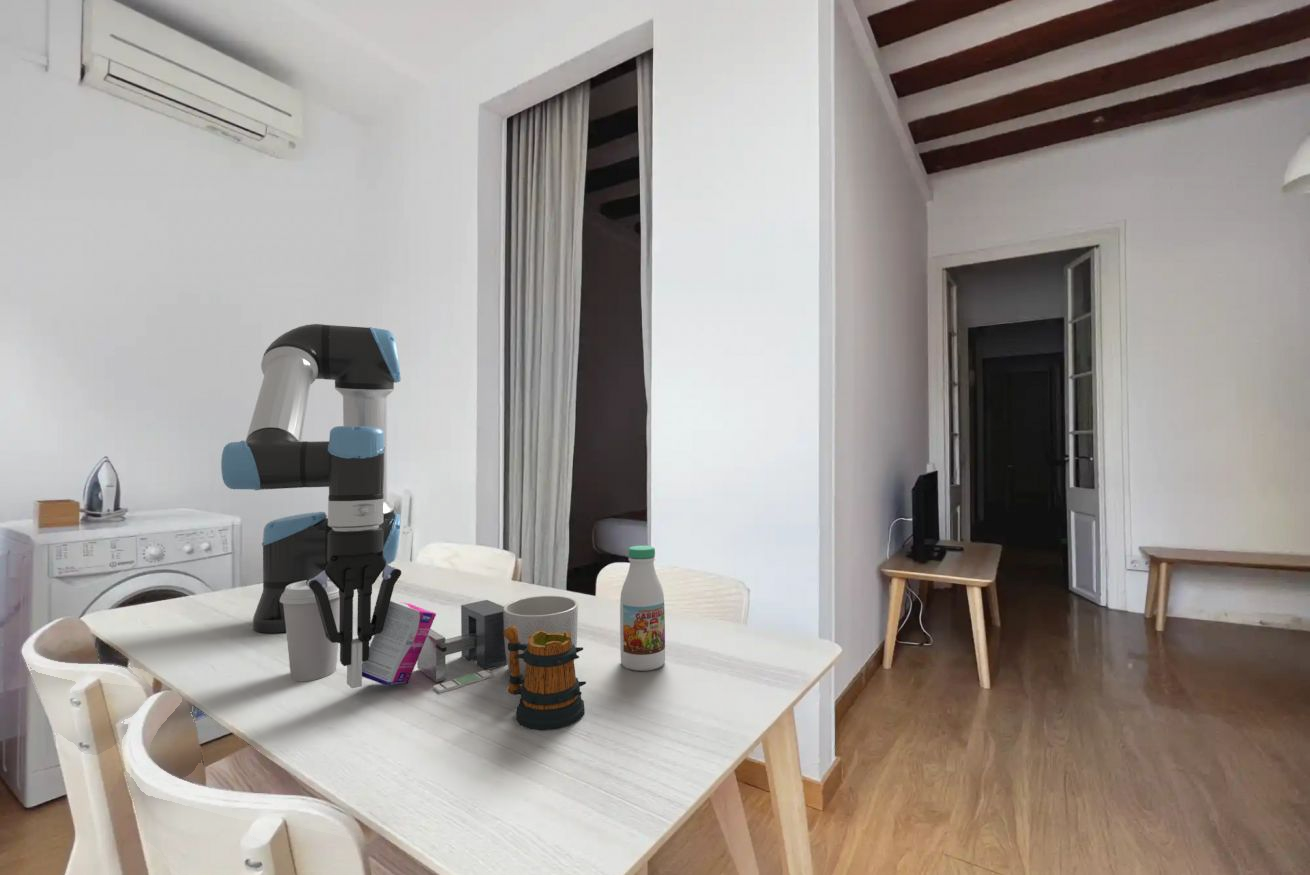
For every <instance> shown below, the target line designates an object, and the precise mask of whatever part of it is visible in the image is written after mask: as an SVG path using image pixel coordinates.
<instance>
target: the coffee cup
mask: <svg viewBox="0 0 1310 875" xmlns="http://www.w3.org/2000/svg"><path fill="white" fill-rule="evenodd" d="M306 581H307V580H305V581H300V582H295V583H292V584H289V585H287V586H286V588H285V591H284V593H282V596H281V597H280V602H281V603H283V607H284V615H285V624H286V632H285V633H286V642H287V652H288V661H289V671H290V679H291V680H293V681H295V682H310V681H315V680H320V679H324V678H326V677H328V676H330V675H331V676H332V674H333V673H335V672H336V671H337V663H338V652H339V643H332V642H331V641H330V640H328V639H327V637H326V635H325V631H324V627H323V624H322V620H321V617H320V613H319V610H318V606H317V602H316V599H315V595H314V593H313V592H312V590H311V589H310V588H309V587H308V586H307V584H306ZM327 584H328V585H327V587H326V588H325V591H326V592H327V595H328V598H329V602H330V605H331V609H332V613H333V616H334V620H335V623H336V627H337V631H338V632H339V618H340V596H339V589H338V588H337V587H336V586H335V585H334V583H333V582H332V581H331V580H330V579H329V578H327Z"/></svg>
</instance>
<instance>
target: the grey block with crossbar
mask: <svg viewBox="0 0 1310 875" xmlns="http://www.w3.org/2000/svg"><path fill="white" fill-rule="evenodd" d="M475 647H477V638H476V632H473V633H469V634H465V635H457V636H453V637H449V638H446V637H445V636H444V635H441V634H440V633H438V632H436V631H435V630H432V629H431V628H430V630H429V633H428V635H427V638H426V640H425V643H424V645H423V647H422V650H421V652H420V655H419V657H418V660H417V662H416V665H417V666H416V668H417V669H418V670H419V671H420V672H422V673H423V674H425V675H426V676H427V677H429V678H430V679H432V680H433V681H434V682H436V683H438V682H442V681H445V680H446V678H447V674H446V673H447V672H446V657H447V656H448V655H452V654H456V653H460V652H462V651H464V650H468V649H472V648H475Z"/></svg>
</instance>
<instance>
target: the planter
mask: <svg viewBox="0 0 1310 875" xmlns="http://www.w3.org/2000/svg"><path fill="white" fill-rule="evenodd" d="M503 607H504V608H503V621H504V630H506V629H507V628H509V627H511V626H513V625H514V626H515V627H516V628H517V631H518V637H519V642H521V644H522V643H524V644H528V641H529V636H531V635H532V634H534V633H535V632H537V631H538V630H540V631H544V632H546V633H562V634H564V632H569V633H571V642H572V644H573V645H575V647H577V646H578V623H579V622H578V620H579V618H578V617H579V612H578V611H579V602H578V601H577V600H575V599H573V598H571V597H567V596H560V595H537V596H536V595H535V596H529V597H524V598H519V599H514V600H513V601H510V602H509V603H506V604H505V605H504V606H503ZM504 642H505V654H506V660H507V664H506V665H507V667H508V669H509V670H510V666H509V653H510V651H509V650H508V643H509V641H508V639H507V638H506V637H505V636H504ZM522 653H524V651H522V650H519V654H522ZM575 660H576V659H574V661H575ZM519 663H520V674H522V677H523V678H525V671H526V662H524V659H521V658H519Z"/></svg>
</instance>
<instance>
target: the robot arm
mask: <svg viewBox="0 0 1310 875" xmlns="http://www.w3.org/2000/svg"><path fill="white" fill-rule="evenodd" d="M260 366H261V367H260V369H261V372H262V374H263V379H262V383H261V385H260V386H261V387H260V389H259V393H258V396H257V400H256V404H255V408H254V411H253V414H252V418H251V421H250V425H249V427H248V432H247V434H246V439H245V440H241V441H233V442H229V443H227V444H225V446H224V447H223V450H222V454H221V462H220V464H221V465H220V466H221V468H220V469H221V477H222V481H223V483H224V485H225V486H226V487H227V488H228V489H230V490H253V491H262V490H263V491H264V490H275V489H276V490H278V489H280V490H281V489H282V490H283V489H297V488H299V489H301V488H328V497H327V498H328V501H327V502H328V503H327V505H328V506H327V513H326V512H324V511H316V512H314V511H313V512H306V513H299V514H295V515H290V516H284V517H280V518H277V519H273V520H271V521H269V522H268V523H266V524H265V525H264V528H263V536H262V543H261V546H262V567H263V568H262V579H263V580H262V583H263V585H262V593H261V596H260V598H259V600H258V604H257V607H256V609H255V612H254V614H253V619H252V628H253V631H256V632H258V633H265V634H267V633H268V634H273V633H276V634H277V633H286V624H285V615H284V607H283V603H281V602H280V597H281V596H282V593H284V591H285V588H286V586H287V585H289V584H292V583H295V582H300V581H305V580H307V581H306V584H307V586H308V587H309V588H310V589H311V590H312V592H313V593H314V595H315V599H316V602H317V606H318V610H319V613H320V617H321V620H322V624H323V627H324V631H325V635H326V637H327V639H328V640H330V641H331V642H332V643H338V644H339V661H340V663H341V665H342V666H343V667H346V684H347V685H348V686H349V687H350V689H356V688H360V687H362V686H363V684H362V683H363V677H362V663H363V662H364V661H368V658H369V647H370V642H371V640H373V637H374V635H375V634H379V633H381V632H382V630H383V627H384V623H385V619H386V615H387V612H388V608H389V604H390V601H392V596H393V592H394V589H395V585H396V583H397V581H398V580H399V579H400V577H401V575H402V570H400V569H399V568H396V567H392V566H391V565H390V564H391V563H393V562H394V561H395V560H396V557H397V553H398V548H399V542H400V541H399V540H400V534H401V530H400V529H401V521H402V520H401V519H402V517H401V514H399V513H395V506H394V505H393V504H392V503H390V502H389V501H388V500H387V497H388V494H387V491H388V490H387V489H388V487H387V486H388V485H387V483H388V481H387V479H388V478H387V477H388V476H387V474H388V472H387V469H388V468H387V466H388V465H387V463H388V462H387V459H388V458H387V456H388V454H387V451H388V449H387V446H388V445H387V398H388V397H389V395H390V394H391V393H392V392H393V391H394V390H395V389H394V388H395V387H394V385H395V383H396V384H397V383H400V382H401V380H402V378H401V372H400V371H401V370H400V362H399V354H398V348H397V342H396V337H395V335H394V333H392V331H390V330H388V329H385V328H384V329H382V328H377V327H367V326H366V327H364V326H363V327H362V326H347V325H346V326H345V325H334V324H333V325H332V324H323V323H312V324H311V323H310V324H305V325H301V326H298V327H296V328H292V329H290V330H289V331H286V332H284V333H283V334H280V335H279V336H278V337H277V338H276V339H275V340H274V341H273V342H271V343H270V345H269V346H268V347H267V349H266V350H265V351H264V353H263V356H262V360H261V364H260ZM316 380H329V381H331V380H332V381H334V389H335V390H336V391H338V393H339V394H340V395H341V396H342V410H343V412H342V419H343V420H342V422H343V425H342V426H341V425H339V426H334V427H333V428H331V429H330V432H329V439H328V440H329V441H328V440H327V441H321V440H320V441H307V440H306V441H302V438H303V437H302V436H303V431H304V424H305V420H306V418H305V417H306V411H307V407H308V406H307V405H308V400H309V394H310V387H311V385H312V384H313V383H314V382H315V381H316ZM380 575H381V578H382V580H381V583H380V586H379V590H378V595H377V598H376V602H375V606H374V609H373V614H372V613H371V612H372V594H373V585H374V584H375V582H376V581H377V580H378V578H379V577H380ZM327 578H329V579H330V580H331V581H332V582H333V583H334V585H335V586H336V587H337V588H338V589H339V596H340V618H339V632H338V631H337V627H336V623H335V620H334V616H333V613H332V609H331V605H330V602H329V598H328V595H327V592H326V591H325V588H326V587H327V585H328V584H327ZM355 590H356V591H357V615H356V616H357V624H356V626H357V627H356V634H357V637H356V638H353V637H354V636H353V634H354V633H353V632H354V628H353V627H354V626H353V625H354V624H353V623H354V622H353V621H354V619H353V618H354V596H355ZM371 616H372V617H371Z"/></svg>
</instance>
